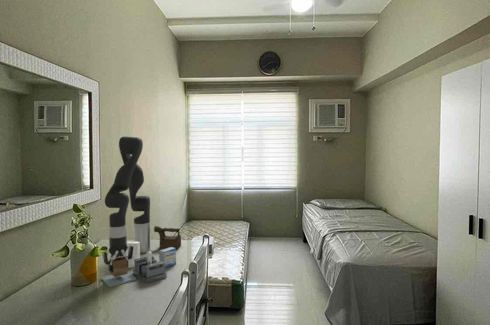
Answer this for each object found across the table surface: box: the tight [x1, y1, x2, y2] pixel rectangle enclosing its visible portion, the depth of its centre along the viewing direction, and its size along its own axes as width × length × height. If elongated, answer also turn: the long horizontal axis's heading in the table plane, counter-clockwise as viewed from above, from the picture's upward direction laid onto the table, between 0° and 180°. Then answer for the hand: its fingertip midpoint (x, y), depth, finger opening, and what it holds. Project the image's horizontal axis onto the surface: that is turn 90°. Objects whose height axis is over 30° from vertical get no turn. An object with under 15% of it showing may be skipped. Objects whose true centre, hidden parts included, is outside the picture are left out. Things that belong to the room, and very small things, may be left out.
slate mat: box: [100, 271, 137, 288], centre depth 150 cm, size 12×12×1 cm
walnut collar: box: [109, 256, 129, 277], centre depth 150 cm, size 6×6×7 cm
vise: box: [132, 250, 168, 284], centre depth 155 cm, size 16×10×12 cm, turn 41°
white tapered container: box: [125, 240, 141, 269], centre depth 169 cm, size 9×9×12 cm
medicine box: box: [158, 247, 177, 269], centre depth 168 cm, size 8×4×9 cm, turn 143°
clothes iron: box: [153, 225, 182, 251], centre depth 198 cm, size 8×16×13 cm, turn 83°
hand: (118, 270), depth 150 cm, fingers closed on walnut collar, 6 cm apart
